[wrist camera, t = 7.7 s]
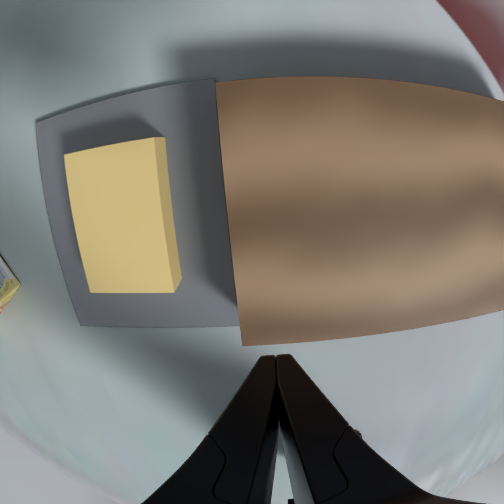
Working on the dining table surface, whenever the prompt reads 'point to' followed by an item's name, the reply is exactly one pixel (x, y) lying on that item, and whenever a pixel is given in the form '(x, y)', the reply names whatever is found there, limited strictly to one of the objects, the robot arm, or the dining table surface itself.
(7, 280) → the candy box
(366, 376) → the dining table surface
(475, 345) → the dining table surface
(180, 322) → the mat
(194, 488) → the robot arm
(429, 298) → the brown wooden flat block
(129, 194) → the yellow rectangular block
